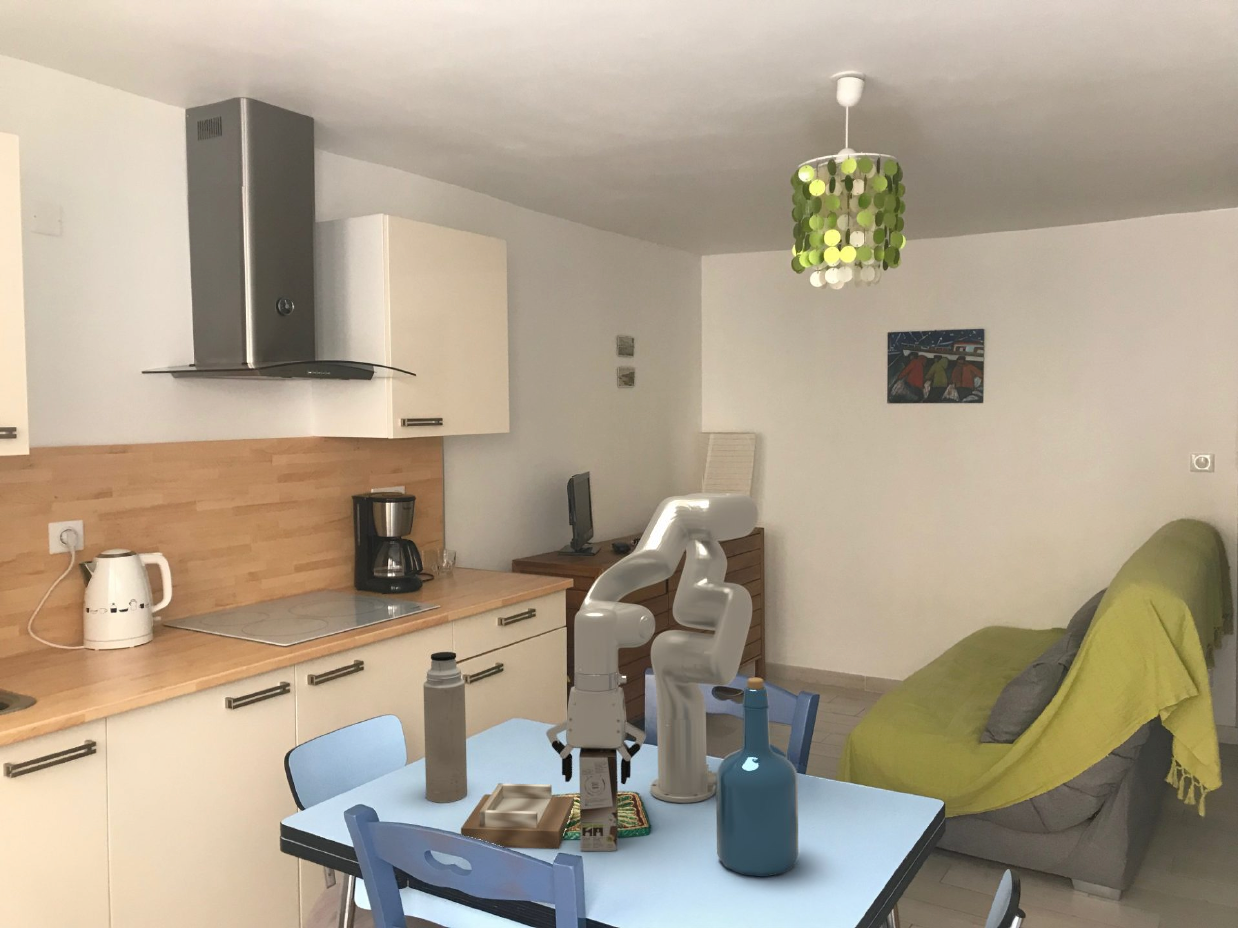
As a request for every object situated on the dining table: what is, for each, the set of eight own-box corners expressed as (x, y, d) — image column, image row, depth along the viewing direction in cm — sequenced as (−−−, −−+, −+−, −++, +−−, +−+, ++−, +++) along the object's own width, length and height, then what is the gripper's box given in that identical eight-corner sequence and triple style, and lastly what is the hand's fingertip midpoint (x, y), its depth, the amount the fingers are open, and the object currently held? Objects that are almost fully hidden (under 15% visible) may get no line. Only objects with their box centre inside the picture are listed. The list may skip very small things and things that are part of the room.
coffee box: (617, 851, 165) (616, 756, 164) (579, 851, 165) (577, 756, 164) (619, 829, 174) (617, 739, 173) (582, 829, 174) (581, 739, 173)
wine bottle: (779, 886, 151) (777, 693, 150) (703, 867, 158) (700, 683, 157) (812, 853, 162) (810, 674, 162) (739, 837, 169) (736, 665, 169)
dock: (574, 812, 182) (573, 783, 182) (558, 848, 166) (558, 816, 166) (484, 809, 184) (484, 780, 184) (461, 845, 168) (460, 813, 168)
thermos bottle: (438, 786, 197) (435, 647, 196) (474, 790, 195) (471, 650, 194) (418, 800, 190) (414, 656, 189) (454, 804, 187) (451, 659, 186)
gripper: (648, 677, 171) (648, 775, 171) (550, 675, 173) (550, 771, 173) (644, 687, 164) (644, 789, 164) (542, 684, 166) (542, 785, 166)
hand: (596, 780), depth 168 cm, fingers open, 9 cm apart
